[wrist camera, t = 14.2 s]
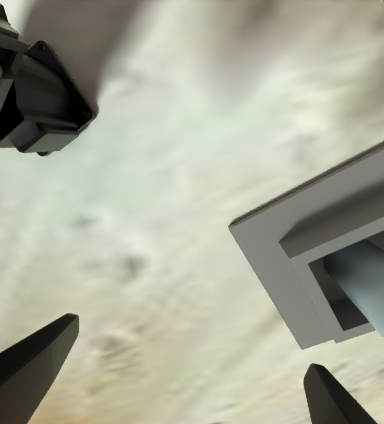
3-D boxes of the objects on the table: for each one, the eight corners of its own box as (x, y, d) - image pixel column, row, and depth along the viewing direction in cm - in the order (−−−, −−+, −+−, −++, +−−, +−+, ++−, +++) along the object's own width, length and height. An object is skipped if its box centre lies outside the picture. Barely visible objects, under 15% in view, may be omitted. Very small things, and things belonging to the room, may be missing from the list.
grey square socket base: (228, 226, 20) (231, 244, 17) (412, 130, 17) (467, 127, 13) (299, 343, 24) (314, 378, 20) (464, 285, 20) (518, 316, 17)
